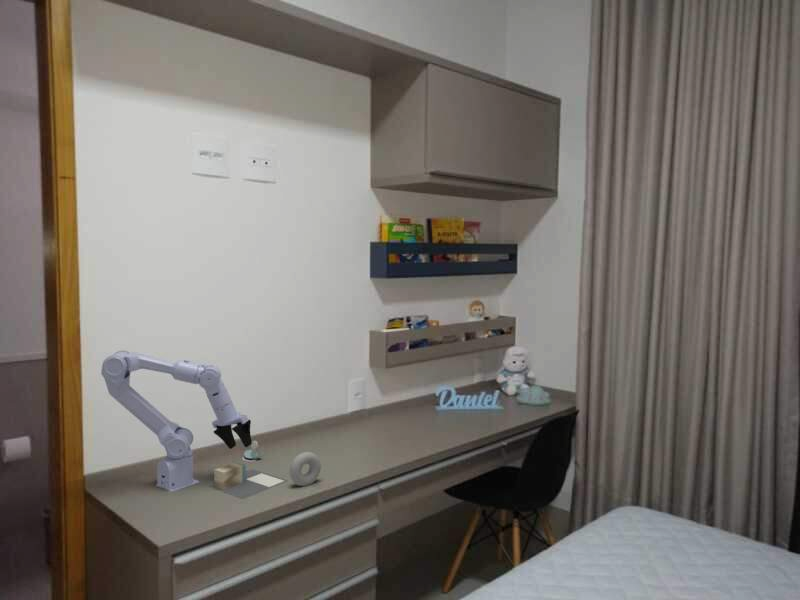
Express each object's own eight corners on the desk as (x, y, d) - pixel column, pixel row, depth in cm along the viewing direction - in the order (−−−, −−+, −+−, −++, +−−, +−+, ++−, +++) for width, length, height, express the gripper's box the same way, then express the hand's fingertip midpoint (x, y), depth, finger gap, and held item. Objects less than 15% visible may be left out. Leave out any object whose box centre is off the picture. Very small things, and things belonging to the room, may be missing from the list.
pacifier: (250, 465, 190) (265, 460, 194) (249, 446, 189) (265, 442, 194) (237, 460, 195) (253, 455, 199) (236, 441, 194) (252, 437, 199)
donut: (316, 480, 177) (316, 447, 177) (322, 483, 175) (323, 450, 174) (287, 488, 171) (287, 454, 170) (293, 491, 168) (293, 457, 168)
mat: (242, 501, 161) (242, 498, 161) (206, 487, 170) (206, 485, 170) (288, 482, 175) (288, 480, 175) (252, 470, 184) (252, 468, 184)
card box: (223, 489, 167) (223, 472, 167) (214, 486, 170) (214, 469, 169) (245, 481, 174) (245, 464, 174) (236, 478, 176) (236, 461, 176)
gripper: (247, 396, 172) (265, 437, 174) (218, 401, 181) (235, 441, 183) (229, 407, 167) (248, 450, 168) (200, 412, 175) (218, 453, 177)
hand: (240, 446), depth 175 cm, fingers open, 7 cm apart
